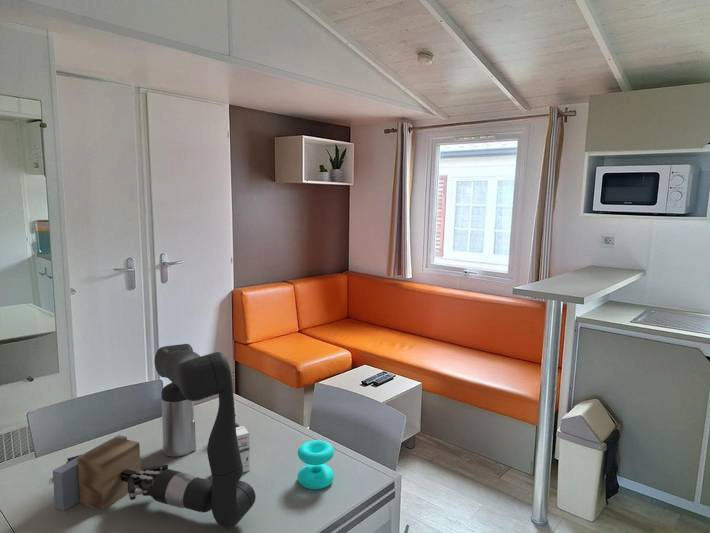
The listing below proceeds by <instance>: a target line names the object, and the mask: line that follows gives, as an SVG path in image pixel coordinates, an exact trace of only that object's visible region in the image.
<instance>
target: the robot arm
mask: <svg viewBox="0 0 710 533" xmlns="http://www.w3.org/2000/svg"><path fill="white" fill-rule="evenodd" d="M154 367H155V370H156V373H157V375H158V376H160V377H161V378H167V379H168V380H169V381H170V383H168V384H166V385H165V386H164V387H163V388H161V395H160V396H161V422H162V424H161V426H162V450H163V451H162V452H163V454H164V455H165V456H168V457H172V458H173V457H182V456H186V455H188V454H190V453H192V452H195V451H197V443H196V442H197V441H196V421H195V404H194V403H195V402H198V401H201V400H203V399H207V398H209V397H213V396H216V395H218V409H217V413H216V418H215V419H214V423H213V426H212V429H211V431H210V435H209V438H208V442H207V449H206V450H207V452H206V453H207V459H208V465H209V468H210V473H211V478H212V480H209V479H205V478H201V477H198V476H196V475H193V474H190V473H187V472H183V471H179V470H174V469H170V468H169V465H168V464H162V465H156V466H149V467H147V466H146V467H144V468H143V470H141V471H137V472H136V471H132V470H127V469H126V470H124V471H123V472H121V480H122V481H125V482H128V496H129V500H130V501H134V500H135V499H136V497H137V496H141V495H142V496H144V497H151V498H152V499H153V500H154V501H155V502H157V503H161V504H165V505H168V506H171V507H175V508H178V509H179V508H180V509H181V508H182V509H187V510H191V511H194V512H197V513H207V512H210V511H211V514H212V515H213V518H214V520H215V522H216V523H217V524H218V525H219V526H220V527H221V528H225V529H231V528H233V527H235V526H236V525H237V524H239V522H240V521H241V520H242V519H243V517H244V516H245V515H246V514H247V513H248V512H249V511H250V510H251V508H252V507H253V506H254V504H255V502H256V499H257V498H256V492H255V490H254V488H253V487H252V486H251V485H250V484H249V483H247V482H245V481H243V480H241V477H242V476H243V474H244V473H243V466H242V461H241V456H240V451H239V446H238V441H237V435H236V416H235V415H236V410H235V397H234V395H235V394H234V385H233V377H232V370H231V367H230V364H229V361H228V359H227V357H226V356H225V355H224V354H223V353H222V352H220V351H216V352H212V353H208V354H205V355H202V356H201V355H199V354H198V353H197V352H195V351H194V349H193V347H192V346H191V344H190V343H183V344H174V345H166V346H162V347H161V346H160V347H159V348H158V349H157V350H156V352H155V355H154Z"/></svg>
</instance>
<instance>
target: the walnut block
mask: <svg viewBox="0 0 710 533" xmlns="http://www.w3.org/2000/svg"><path fill="white" fill-rule="evenodd" d="M115 437H116V436H115ZM113 438H114V437H113ZM111 439H112V438H111ZM109 440H110V439H109ZM107 441H108V440H107ZM107 441H106V442H107ZM104 443H105V442H104ZM102 444H103V443H102ZM100 445H101V444H100ZM98 446H99V445H98ZM140 447H141V446H140V442H138V441H135V440H130V439H128V438H127V439H122V438H118V437H116V438H114V439H112V440H110V441H108V442H107V443H105V444H103V445H101V446H99V447H98V448H96V449H94V448H93V449H94V450H92V449H91V450H92V451H90V450H89V451H90V452H88V451H87V452H88V453H87V454H85V455H83V456H81V457H79V458H78V476H79V493H80V501H79V504H81V505H85V506H88V507H92V508H93V509H94V508H95V509H97V510H102V511H106V510H107V509H109V508H110V507H111V506H113V505H114V504H115V503H117V502H118V501H120V500H121V499H122V498H124V497H125V496H127V495H129V493H128V482H125V481H122V480H121V472H123V471H124V470H126V469H127V470H132V471H136V472H137V471H142V470H141V452H140V451H141V448H140ZM112 504H113V505H112Z"/></svg>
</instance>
